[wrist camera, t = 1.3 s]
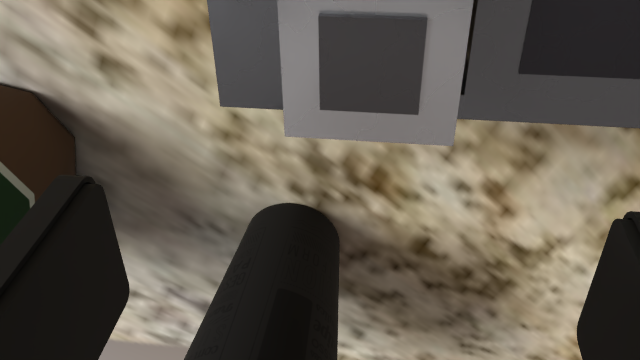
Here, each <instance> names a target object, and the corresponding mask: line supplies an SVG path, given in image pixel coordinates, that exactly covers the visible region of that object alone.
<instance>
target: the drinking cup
mask: <svg viewBox="0 0 640 360" xmlns="http://www.w3.org/2000/svg"><path fill="white" fill-rule="evenodd" d="M338 293H339V236H338V233H337V231H336V229H335V227H334V226H333V224H332V223H331V222H330V221H329V220H328V219H327V218H326V217H325V216H324V215H322V214H321V213H319V212H318V211H316V210H314V209H311V208H309V207H306V206H303V205H298V204H277V205H273V206H270V207H267V208H265V209H263V210H261V211H260V212H259V213H257V214H256V215H255V216H254V217H253V219H252V220H251V222H250V224H249V226H248V228H247V230H246V232H245V234H244V236H243V238H242V240H241V243H240V245H239V247H238V249H237V251H236V253H235V255H234V257H233V259H232V261H231V263H230V265H229V267H228V269H227V272H226V274H225V276H224V278H223V280H222V282H221V284H220V286H219V288H218V290H217V292H216V294H215V296H214V298H213V300H212V303H211V305H210V307H209V309H208V311H207V313H206V315H205V317H204V319H203V321H202V323H201V325H200V327H199V329H198V332H197V334H196V336H195V338H194V340H193V342H192V344H191V346H190V348H189V350H188V352H187V354H186V356H185V358H184V360H337V345H338Z"/></svg>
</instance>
